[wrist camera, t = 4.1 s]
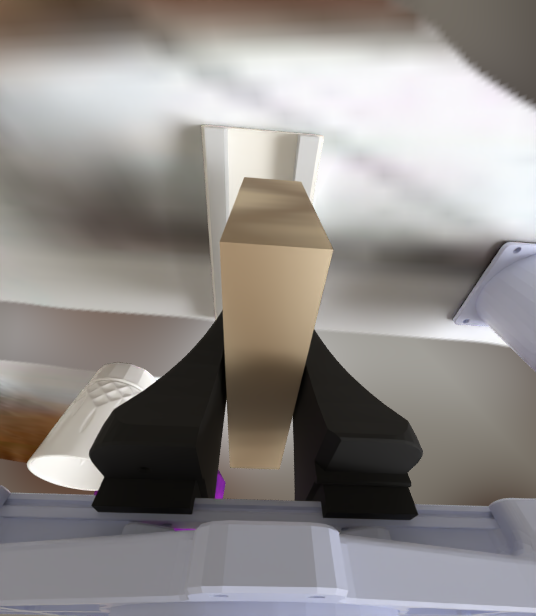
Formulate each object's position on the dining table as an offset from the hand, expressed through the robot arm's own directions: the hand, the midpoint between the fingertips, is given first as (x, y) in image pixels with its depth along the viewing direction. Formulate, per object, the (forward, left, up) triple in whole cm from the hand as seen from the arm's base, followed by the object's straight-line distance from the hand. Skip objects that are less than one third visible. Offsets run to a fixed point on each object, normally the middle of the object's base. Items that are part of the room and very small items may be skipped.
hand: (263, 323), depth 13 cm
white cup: (+15, +18, -9) cm, 25 cm away
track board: (+1, 0, -9) cm, 9 cm away
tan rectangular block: (0, 0, -3) cm, 3 cm away
